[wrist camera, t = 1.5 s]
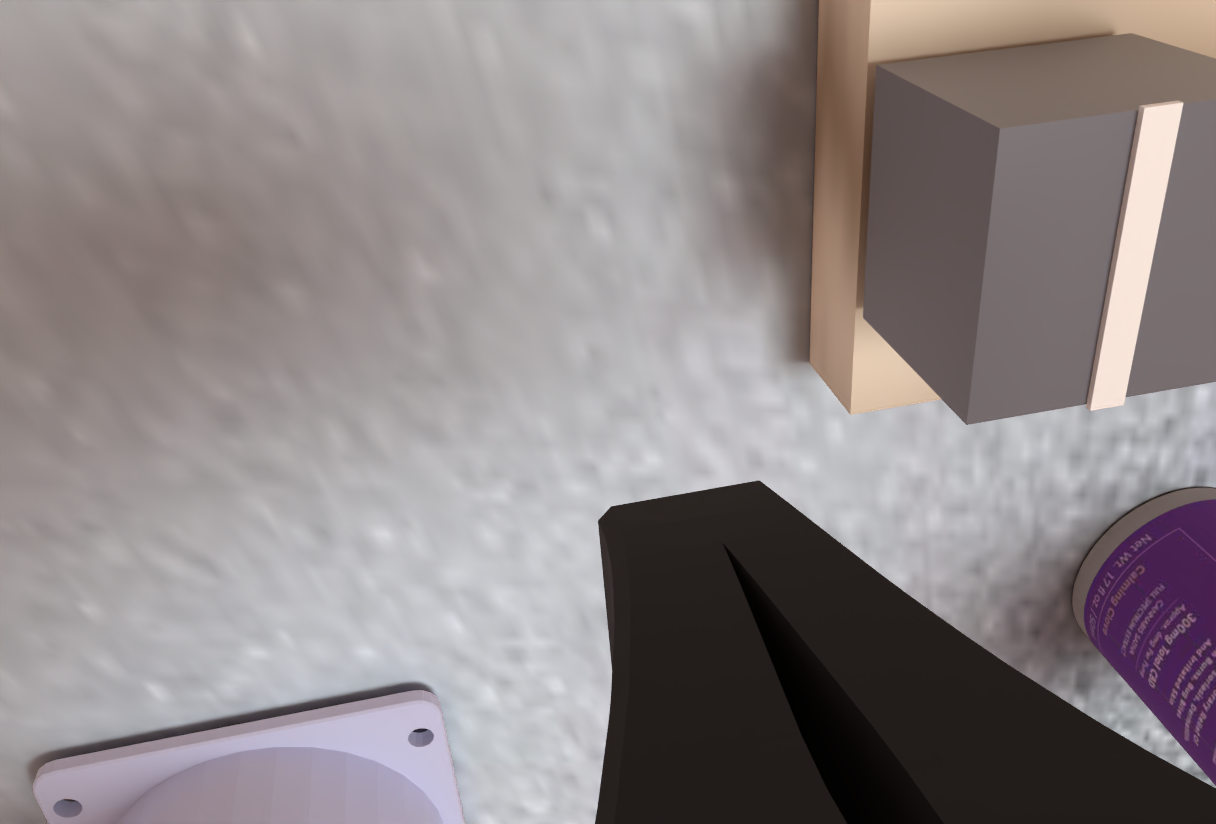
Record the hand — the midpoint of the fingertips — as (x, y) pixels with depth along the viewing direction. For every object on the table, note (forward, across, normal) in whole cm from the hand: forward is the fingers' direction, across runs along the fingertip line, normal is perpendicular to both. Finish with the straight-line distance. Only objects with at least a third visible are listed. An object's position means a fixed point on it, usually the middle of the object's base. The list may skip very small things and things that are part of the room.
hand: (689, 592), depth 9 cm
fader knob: (+8, -7, 0) cm, 11 cm away
